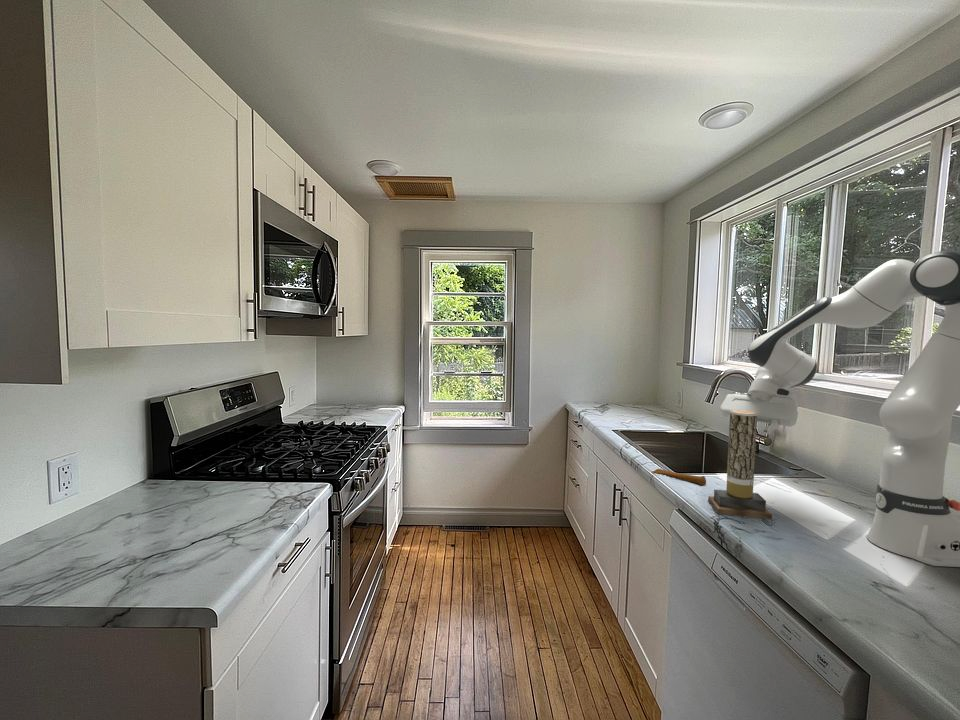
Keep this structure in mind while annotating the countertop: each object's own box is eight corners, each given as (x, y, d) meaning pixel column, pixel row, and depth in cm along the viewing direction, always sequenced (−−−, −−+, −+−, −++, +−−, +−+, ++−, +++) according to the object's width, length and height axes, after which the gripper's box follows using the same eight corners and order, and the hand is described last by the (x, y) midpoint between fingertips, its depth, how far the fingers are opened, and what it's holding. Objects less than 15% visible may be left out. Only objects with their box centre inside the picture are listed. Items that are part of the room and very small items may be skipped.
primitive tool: (650, 473, 163) (650, 464, 162) (657, 470, 166) (658, 461, 166) (702, 488, 148) (703, 478, 147) (709, 484, 151) (710, 474, 151)
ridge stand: (758, 505, 132) (759, 491, 131) (771, 519, 122) (772, 503, 122) (708, 500, 135) (708, 486, 135) (717, 513, 125) (718, 498, 125)
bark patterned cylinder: (730, 498, 125) (734, 413, 124) (723, 490, 132) (727, 409, 131) (756, 500, 124) (761, 414, 122) (747, 492, 130) (752, 410, 129)
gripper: (726, 385, 141) (710, 418, 136) (800, 392, 125) (785, 430, 120) (731, 397, 144) (716, 430, 139) (804, 406, 128) (790, 443, 123)
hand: (749, 430), depth 129 cm, fingers open, 8 cm apart
